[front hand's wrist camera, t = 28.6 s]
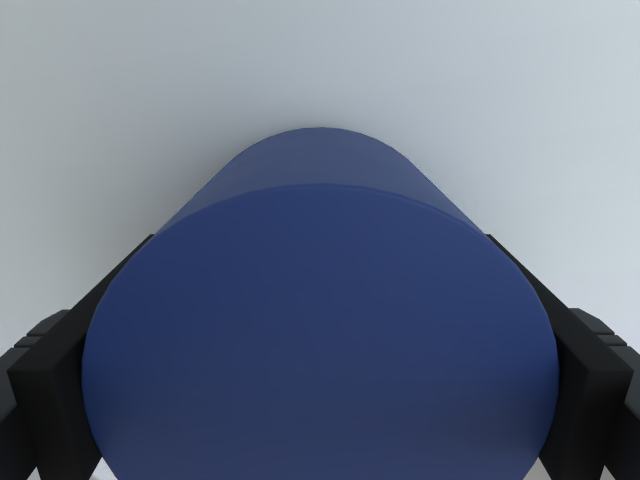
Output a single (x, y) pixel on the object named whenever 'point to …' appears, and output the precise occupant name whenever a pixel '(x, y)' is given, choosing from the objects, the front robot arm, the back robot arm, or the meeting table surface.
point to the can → (320, 331)
